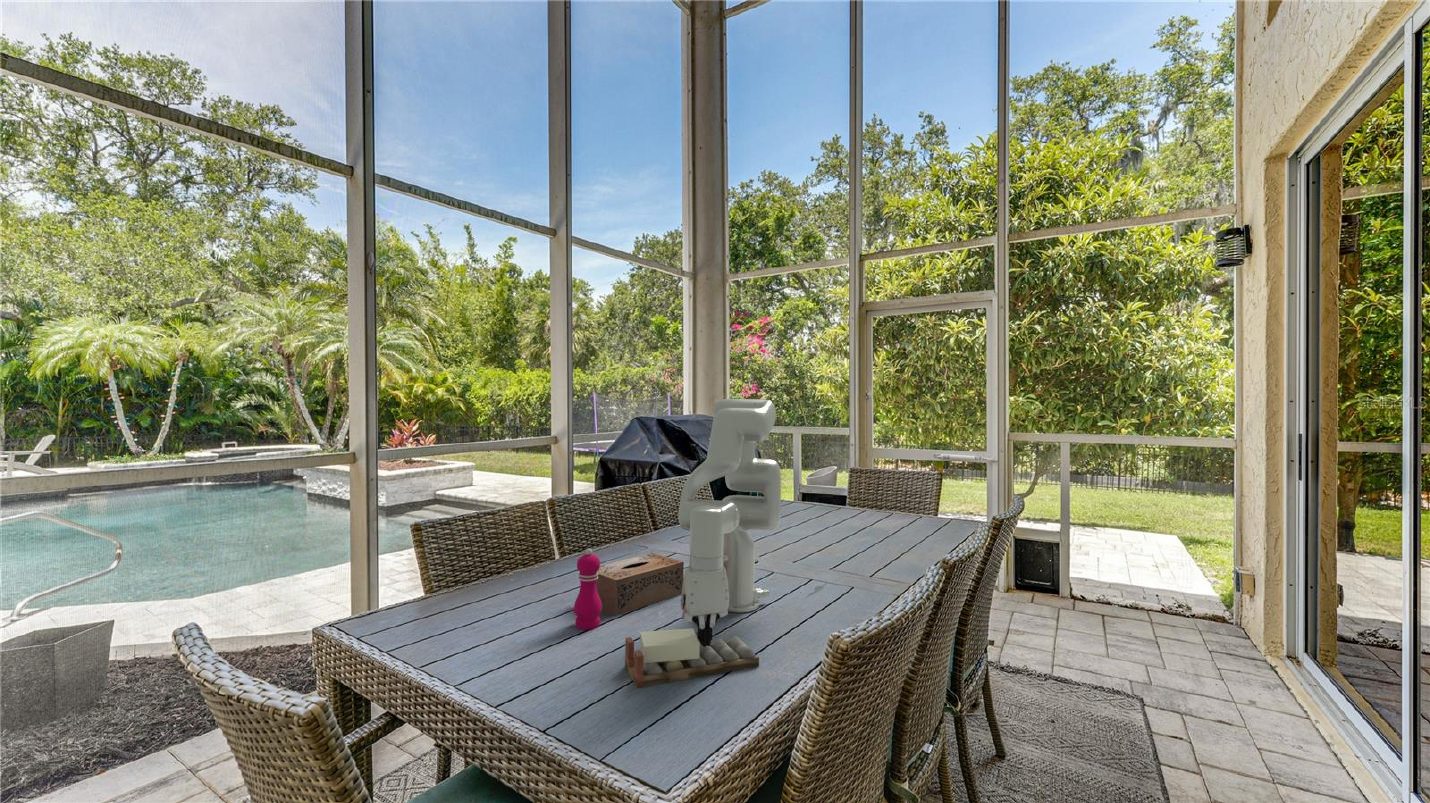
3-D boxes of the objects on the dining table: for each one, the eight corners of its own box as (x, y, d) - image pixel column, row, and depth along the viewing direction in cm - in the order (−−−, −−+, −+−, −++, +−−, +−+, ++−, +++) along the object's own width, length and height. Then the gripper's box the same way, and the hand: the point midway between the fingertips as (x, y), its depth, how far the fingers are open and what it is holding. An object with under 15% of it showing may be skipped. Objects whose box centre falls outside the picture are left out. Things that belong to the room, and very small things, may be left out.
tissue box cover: (651, 583, 191) (652, 552, 191) (683, 594, 182) (683, 561, 182) (584, 603, 172) (584, 568, 172) (615, 616, 163) (616, 580, 163)
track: (739, 648, 143) (740, 621, 143) (758, 666, 134) (759, 637, 134) (625, 667, 132) (625, 637, 132) (637, 687, 123) (637, 656, 123)
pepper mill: (595, 631, 151) (596, 552, 151) (568, 628, 153) (569, 550, 153) (606, 621, 158) (607, 545, 158) (580, 618, 160) (581, 544, 160)
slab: (692, 643, 137) (692, 628, 137) (699, 658, 129) (699, 642, 129) (639, 647, 134) (640, 631, 134) (643, 662, 126) (643, 646, 126)
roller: (659, 665, 134) (657, 650, 134) (674, 661, 135) (672, 646, 135) (668, 679, 127) (667, 664, 127) (684, 675, 129) (682, 659, 128)
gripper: (729, 555, 140) (728, 633, 140) (668, 560, 134) (667, 642, 134) (743, 563, 133) (742, 645, 133) (680, 570, 127) (678, 656, 127)
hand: (704, 643), depth 134 cm, fingers closed
